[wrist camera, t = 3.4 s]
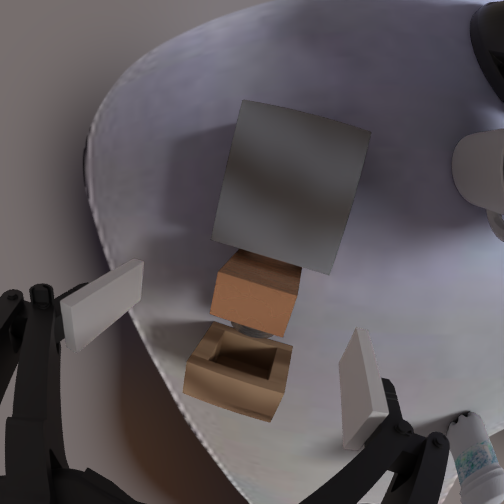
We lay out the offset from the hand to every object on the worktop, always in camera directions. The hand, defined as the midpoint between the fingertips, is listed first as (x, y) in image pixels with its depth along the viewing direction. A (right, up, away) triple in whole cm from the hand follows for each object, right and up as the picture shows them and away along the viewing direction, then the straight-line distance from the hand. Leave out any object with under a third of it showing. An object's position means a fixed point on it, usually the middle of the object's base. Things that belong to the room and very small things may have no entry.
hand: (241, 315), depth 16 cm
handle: (+3, +6, +9) cm, 11 cm away
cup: (+23, +10, +5) cm, 26 cm away
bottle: (+32, -22, +12) cm, 41 cm away
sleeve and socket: (+3, +2, +11) cm, 12 cm away
